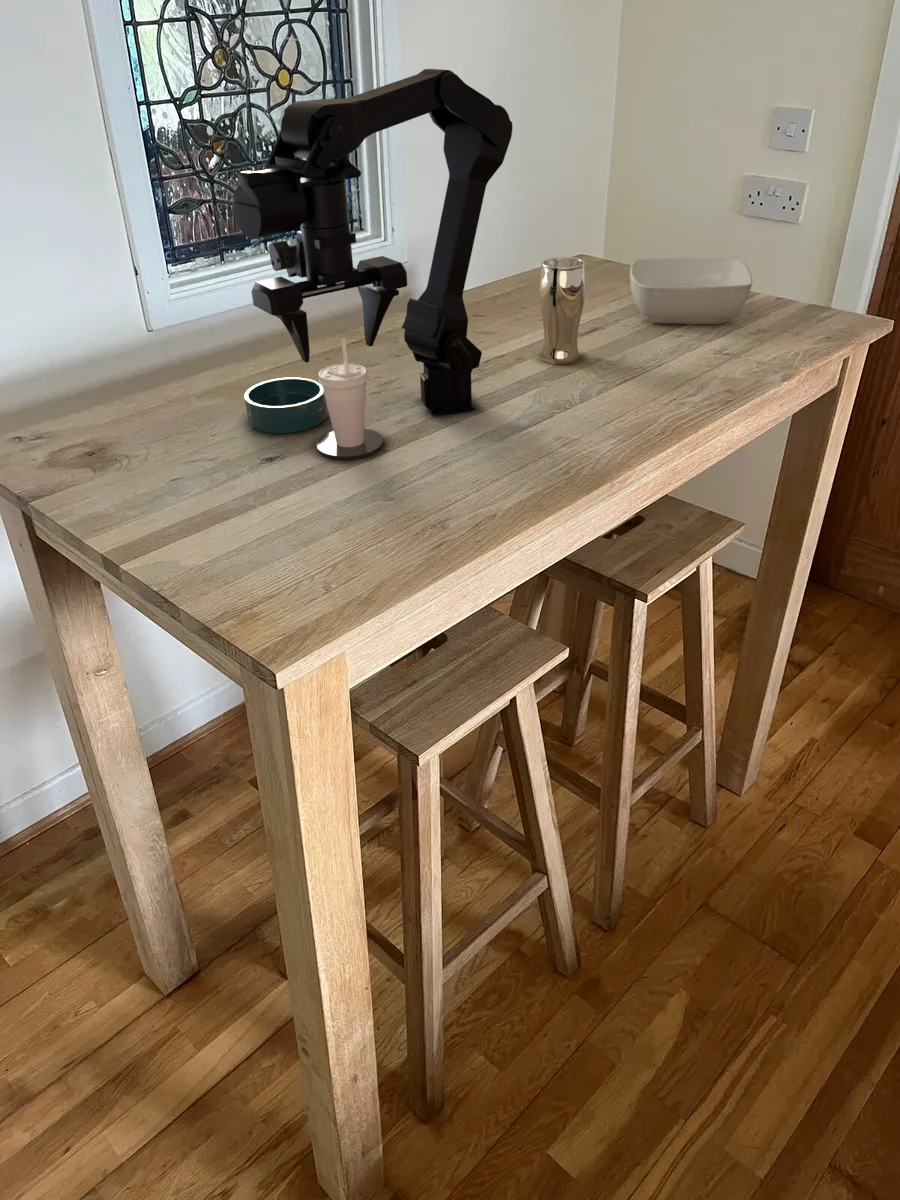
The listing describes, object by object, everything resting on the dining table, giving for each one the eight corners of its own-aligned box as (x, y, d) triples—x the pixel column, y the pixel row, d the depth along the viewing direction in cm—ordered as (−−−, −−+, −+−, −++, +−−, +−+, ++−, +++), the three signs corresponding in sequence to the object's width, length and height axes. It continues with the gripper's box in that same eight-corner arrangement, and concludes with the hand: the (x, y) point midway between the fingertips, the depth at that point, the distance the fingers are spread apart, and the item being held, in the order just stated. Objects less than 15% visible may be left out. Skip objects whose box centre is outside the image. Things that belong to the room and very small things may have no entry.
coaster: (376, 428, 127) (376, 424, 127) (389, 455, 120) (389, 450, 120) (312, 437, 125) (311, 432, 125) (321, 464, 118) (321, 460, 118)
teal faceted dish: (321, 399, 136) (318, 373, 134) (332, 428, 127) (329, 401, 125) (246, 409, 134) (241, 383, 132) (252, 439, 125) (247, 412, 123)
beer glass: (532, 363, 146) (534, 266, 137) (545, 348, 151) (548, 255, 143) (575, 367, 144) (579, 269, 135) (586, 353, 149) (591, 257, 140)
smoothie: (366, 453, 119) (356, 348, 111) (319, 450, 120) (306, 346, 112) (379, 432, 124) (370, 331, 116) (334, 430, 125) (323, 329, 118)
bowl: (626, 295, 174) (629, 254, 170) (736, 296, 171) (743, 254, 167) (628, 331, 157) (631, 285, 153) (751, 332, 154) (758, 286, 150)
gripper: (359, 201, 117) (369, 323, 126) (223, 224, 108) (244, 353, 117) (405, 215, 109) (413, 343, 118) (263, 241, 101) (282, 377, 110)
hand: (338, 353), depth 116 cm, fingers open, 9 cm apart
